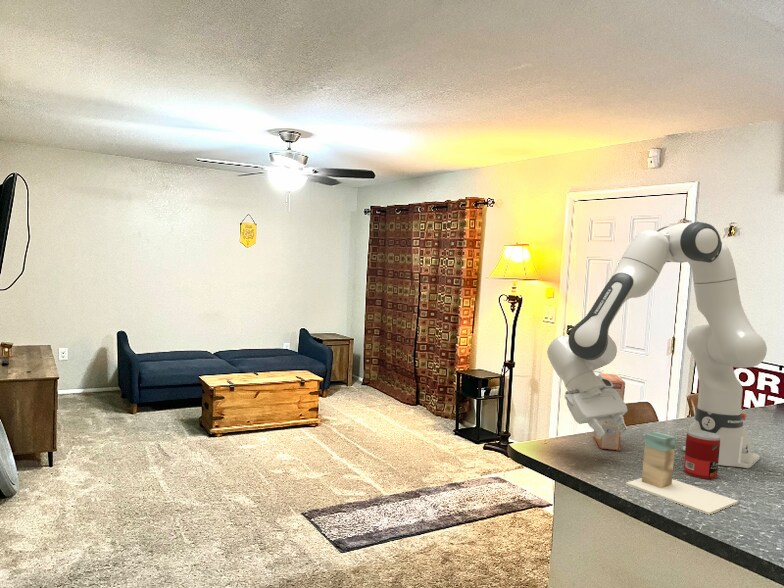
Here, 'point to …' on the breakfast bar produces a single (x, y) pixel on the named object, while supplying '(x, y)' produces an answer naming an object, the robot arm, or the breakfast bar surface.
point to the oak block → (658, 459)
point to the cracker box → (613, 434)
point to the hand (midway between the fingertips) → (614, 433)
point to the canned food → (702, 454)
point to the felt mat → (687, 496)
